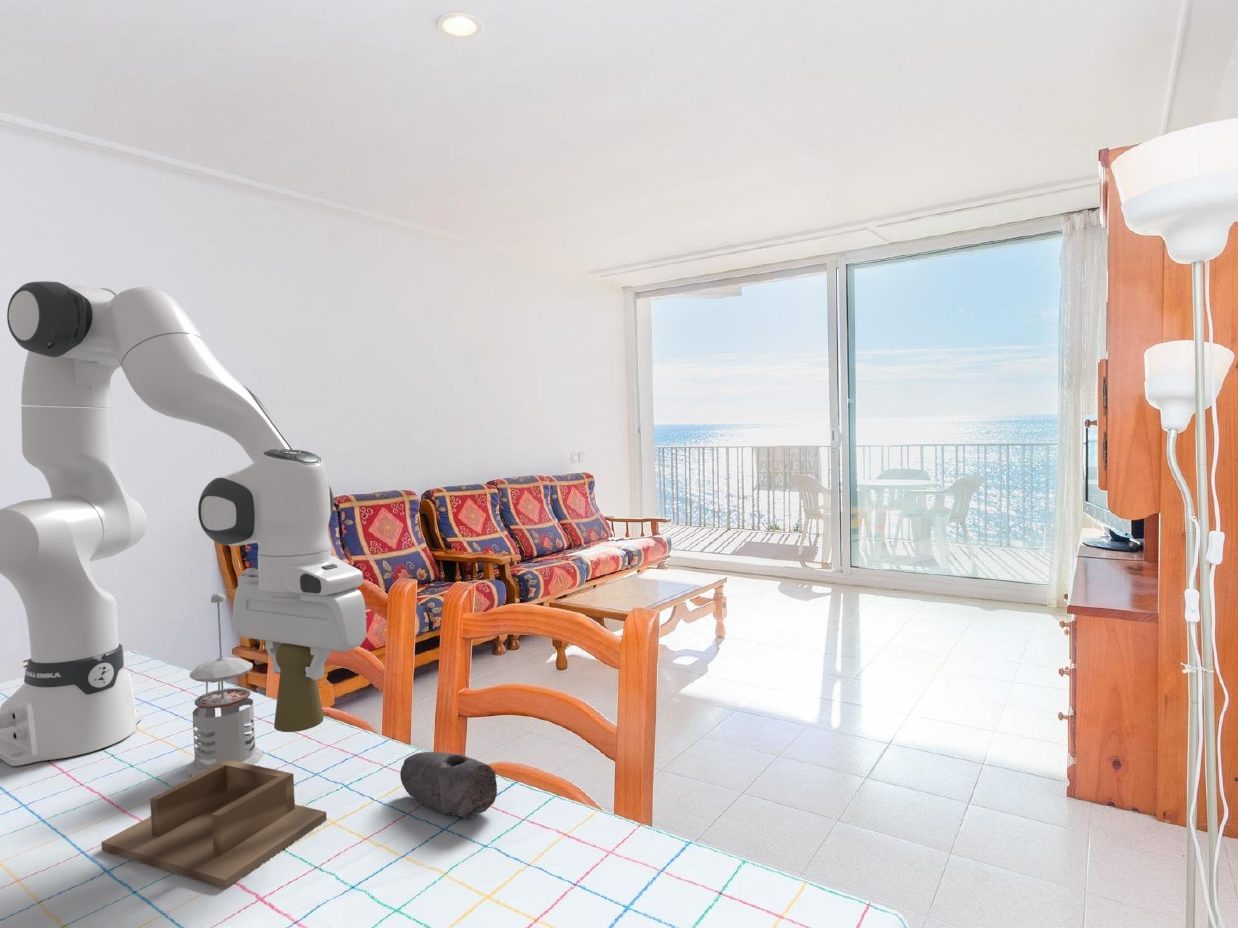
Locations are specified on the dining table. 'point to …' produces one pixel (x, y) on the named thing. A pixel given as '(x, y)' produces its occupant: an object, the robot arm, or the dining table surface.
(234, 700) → the french press
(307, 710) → the cork
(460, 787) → the perforated stone tool
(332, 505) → the robot arm
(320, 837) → the dining table surface
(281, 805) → the u rest
